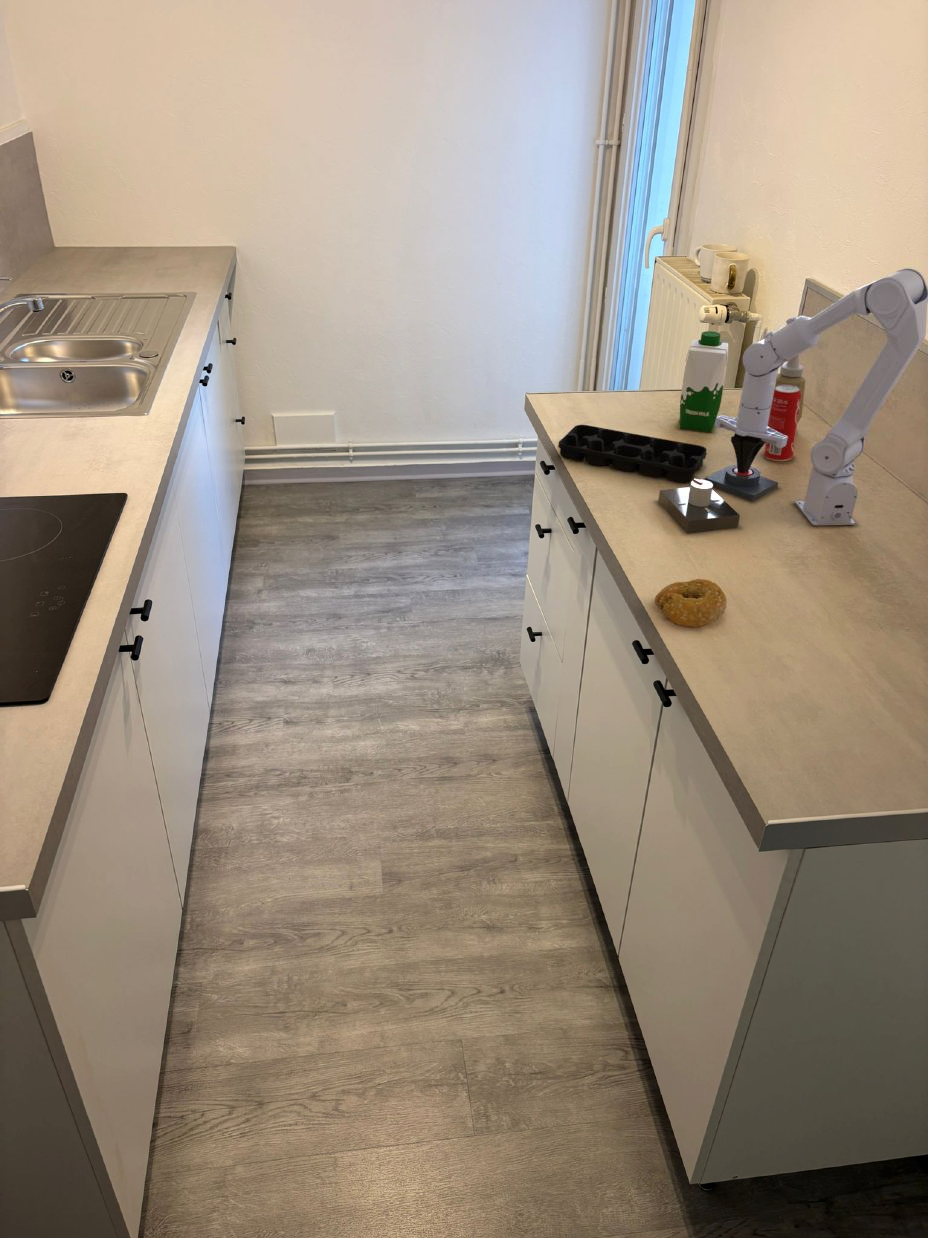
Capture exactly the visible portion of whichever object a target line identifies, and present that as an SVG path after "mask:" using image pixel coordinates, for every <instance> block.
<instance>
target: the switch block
mask: <svg viewBox="0 0 928 1238" xmlns="http://www.w3.org/2000/svg"><path fill="white" fill-rule="evenodd" d="M735 468H737V464H732V465H731V464H730V465H728V466H726V467H724V468H721V469H720V470H718V471H716V472H713V473H712V474H710V475H708V476H705V477H704V480H706V481H709V482H711V483H712V484H713V488H714V489H717V490H719V491H722V492H725V493H727V494H730V495H732V496H735V497H738V498H740V499H744V500H746V501H749V502H752V503H753V502H755V501H757V500H759V499H760V498H762V497H765V496H766V495H768V494H770V493H772V492H773V491H775V490H777V489H778V487H779V481H776V480H773V479H770V478H767V477H765V476H762V475H761V471H760V470H759V469H758V468H756V467H753V466H751V467H750V470H752V472H753V473H752V475H751V476H741V475H737V474H735V473H733V472H734V469H735Z"/></svg>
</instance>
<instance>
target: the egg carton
mask: <svg viewBox="0 0 928 1238" xmlns="http://www.w3.org/2000/svg"><path fill="white" fill-rule="evenodd" d="M557 447H558V448H559V453H560V456H561V457H562V458H563V459H564V460H569V461H574V462H577V463H578V462H579V463H580V462H582V461H584V460H585V462H586V464H587V465H589V466H593V467H601V468H607V467H610V466H611V468H612V469H613V470H615V471H618V472H623V473H635V472H636V471H637V470H638V469H639V470H638V471H639V475H642V476H645V477H651V478H655V479H657V478H658V479H659V478H667V480H669V481H671V482H675V483H681V484H687V483H691V482H692V481H693V479H694V475H695V473H696V472H698V471H699V470H701V468H702V467H703V465H704V460H705V459H706V456H708V453H707V451H708V449H707V447H705V446H704V445H703V446H702V445H700V444H694V443H687V442H682V441H676V440H671V439H666V438H660V437H655V436H654V437H653V436H650V435H644V434H637V433H633V432H632V433H631V432H627V431H622V430H615V429H611V428H604V427H599V426H593V425H588V424H577V425H574V426H573V427H572V429H570V430H569V431H568V432H567V434H565V435H564V436H563V437H562V438H561V439H560V440H559V441H558V445H557Z"/></svg>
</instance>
